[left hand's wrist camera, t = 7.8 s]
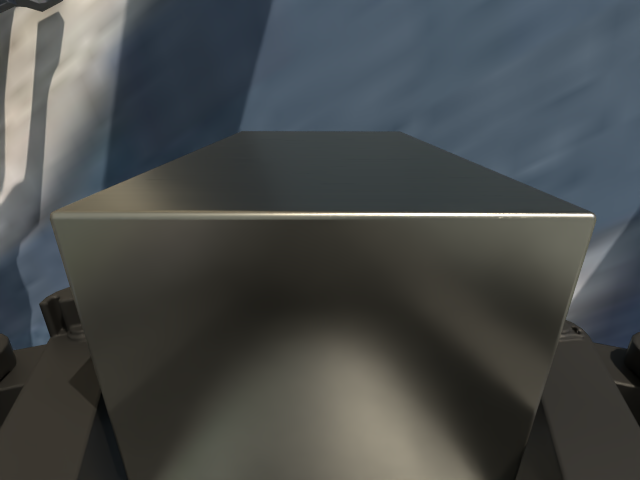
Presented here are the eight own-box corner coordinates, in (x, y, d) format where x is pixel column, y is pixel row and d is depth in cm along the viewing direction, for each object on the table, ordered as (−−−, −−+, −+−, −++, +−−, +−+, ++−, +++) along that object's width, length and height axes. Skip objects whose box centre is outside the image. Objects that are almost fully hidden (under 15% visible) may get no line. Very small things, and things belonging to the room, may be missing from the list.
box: (240, 130, 13) (43, 212, 4) (401, 131, 13) (602, 213, 4) (269, 508, 22) (230, 828, 12) (369, 508, 22) (408, 829, 12)
